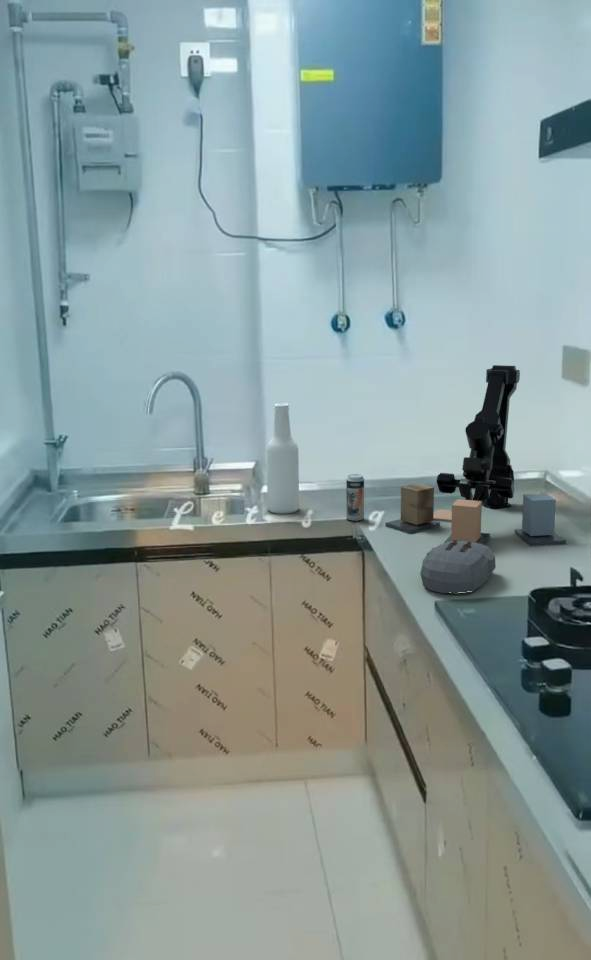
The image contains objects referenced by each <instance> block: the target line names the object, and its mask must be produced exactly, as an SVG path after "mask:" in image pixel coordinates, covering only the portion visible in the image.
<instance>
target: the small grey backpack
mask: <svg viewBox="0 0 591 960" xmlns="http://www.w3.org/2000/svg"><path fill="white" fill-rule="evenodd" d="M495 569H496V555H495V554H494V553H493V551H492V549H491V547H490V546H489V545H486V544H485V545H483V544H479V543H474V542H469V541H458V540H454V541H451V542H446V543H444V542H443V543H441V544H439V545H437V546H436V547H432V549H430V550H429V551H428V552H427V553H426V556H425V557H424V558H423V559H422V564H421V569H420V573H419V575H420V578H421V581H422V582H421V583H422V585H423V586H424V587H425V588H427V589H428V590H430V591H433V592H435V591H437V592H436V593H439V592H442V593H441V594H443V593H449V592H451V593H458V592H467V591H473V590H474V591H476V590H477V589H479V588H480V587H481V586H483V585H484V584H485V583H486V582H487V580H488V579H490V577H491V575H493V573H494V571H495ZM484 582H485V583H484ZM483 583H484V584H483ZM482 584H483V585H482ZM478 587H479V588H478ZM475 589H476V590H475ZM474 591H473V592H474Z"/></svg>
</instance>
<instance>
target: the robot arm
mask: <svg viewBox="0 0 591 960" xmlns="http://www.w3.org/2000/svg"><path fill="white" fill-rule="evenodd" d="M485 376H486V378H485V382H486V383H487V385H486V390H485V391H486V392H485V396H484V399H483V404H482V407H481V410H480V411H479V412H478V413H476V414H475V417H474V420H473V421H471V422H470V423H468V424H467V426H466V427H465V429H464V430H465V435H466V440H467V443H468V444H467V445H468V447H469V449H470V453H469V457H468V456H467V457H463V459H462V461H463V462H462V468H461V470H462V471H463V472H462V477H460V479H458V478H456V477H455V474H454V473H448V472H440V473H439V474H438V475H437V477H436V484H437V487H438V491H439V493H441V494H453V493H455V492H456V490H457V488H458V490H459V493H460V497H462V498H464V500H474V501H482V506H485V507H487V508H489V509H499V508H500V509H501V508H509V507H512V504H511V503H509V499H513V498H514V494H515V473H514V470H513V465H512V464H511V458H510V457H509V455H508V452H507V451H506V446H507V433H508V421H509V412H510V402H511V401H510V399H511V397H512V396H513V394H514V393H515V392H516V390H517V387H518V384H519V382H520V378H521V377H520V376H521V371H520V369H517V367H516V365H502V364H501V365H499V364H498V365H497V364H493V365H492V368H488V369H486V374H485ZM463 477H464V478H463ZM473 489H474V493H473V492H472V491H473Z"/></svg>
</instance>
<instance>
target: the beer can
mask: <svg viewBox="0 0 591 960" xmlns="http://www.w3.org/2000/svg"><path fill="white" fill-rule="evenodd" d="M345 481H346V483H345V484H346V516H345V517H346V519H347V520H349V521H350V520H351V521H350V522H359V520H360V521H362V520H364V519H365V478H364V476H363V475H362V474H358V473H356V474H348V476H347V478H346V479H345Z"/></svg>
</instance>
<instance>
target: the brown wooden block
mask: <svg viewBox="0 0 591 960" xmlns="http://www.w3.org/2000/svg"><path fill="white" fill-rule="evenodd" d="M434 497H435V487H434V486H429V485H426V484H421V483H417V482H416V483H413V484H408V485H404V486H401V487H400V519H401V520H402V521H405V522H409V523H412V524H415V525H419V524H423V523H427V522H431V521H433V514H434V513H435V510H434V509H435V508H434V504H435V501H434V499H435V498H434Z"/></svg>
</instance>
